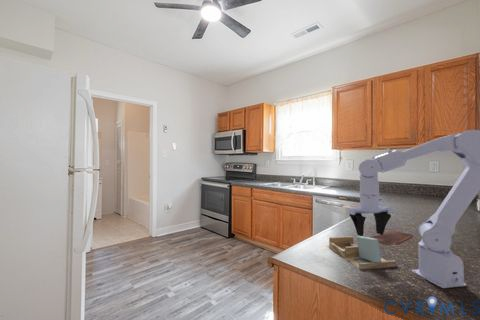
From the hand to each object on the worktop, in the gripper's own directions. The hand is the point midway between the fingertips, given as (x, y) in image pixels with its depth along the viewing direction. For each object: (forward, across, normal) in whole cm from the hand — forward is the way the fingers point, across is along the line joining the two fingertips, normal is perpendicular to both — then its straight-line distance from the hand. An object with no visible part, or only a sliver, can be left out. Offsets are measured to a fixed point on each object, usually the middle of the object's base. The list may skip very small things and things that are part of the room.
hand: (370, 234), depth 75 cm
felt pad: (+10, 0, 0) cm, 10 cm away
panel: (+8, 0, 0) cm, 8 cm away
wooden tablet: (+11, -28, -21) cm, 36 cm away
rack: (+10, 0, -6) cm, 12 cm away
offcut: (+9, -3, -12) cm, 15 cm away
